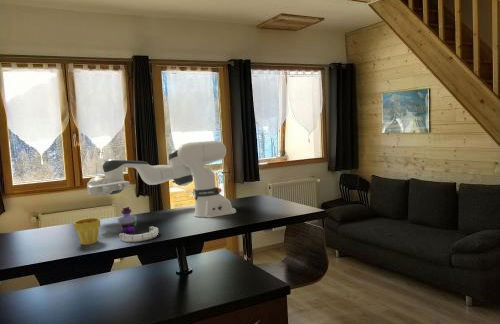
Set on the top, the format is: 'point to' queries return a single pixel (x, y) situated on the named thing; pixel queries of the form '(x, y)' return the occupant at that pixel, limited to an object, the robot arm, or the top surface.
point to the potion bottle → (127, 221)
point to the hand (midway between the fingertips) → (114, 188)
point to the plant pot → (87, 230)
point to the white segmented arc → (140, 235)
